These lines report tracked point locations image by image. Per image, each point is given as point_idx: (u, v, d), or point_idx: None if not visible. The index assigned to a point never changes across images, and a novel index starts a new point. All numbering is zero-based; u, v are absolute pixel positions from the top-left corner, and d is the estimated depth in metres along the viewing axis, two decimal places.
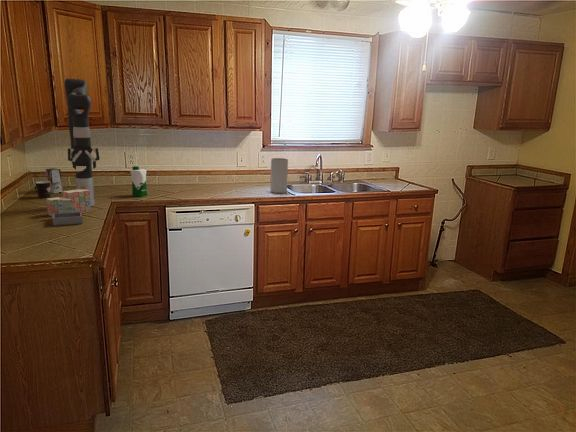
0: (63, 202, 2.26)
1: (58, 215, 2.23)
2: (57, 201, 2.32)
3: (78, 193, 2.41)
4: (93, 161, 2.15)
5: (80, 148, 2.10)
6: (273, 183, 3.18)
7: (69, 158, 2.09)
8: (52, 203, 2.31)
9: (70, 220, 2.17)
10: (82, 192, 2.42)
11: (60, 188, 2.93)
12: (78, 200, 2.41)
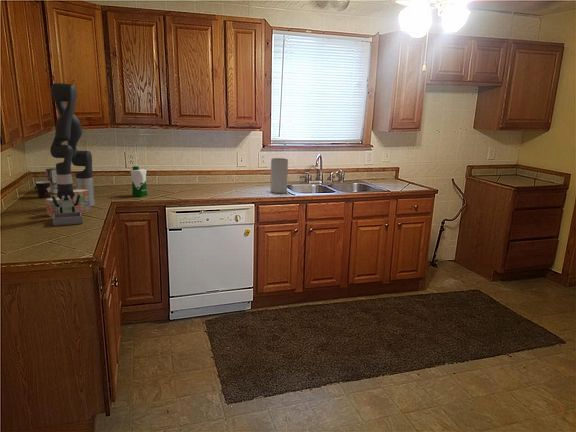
0: (63, 202, 2.26)
1: (58, 215, 2.23)
2: None
3: (77, 193, 2.40)
4: (72, 206, 2.30)
5: (63, 193, 2.26)
6: (273, 183, 3.18)
7: (56, 204, 2.26)
8: (52, 203, 2.30)
9: (70, 220, 2.17)
10: (81, 192, 2.42)
11: None
12: None
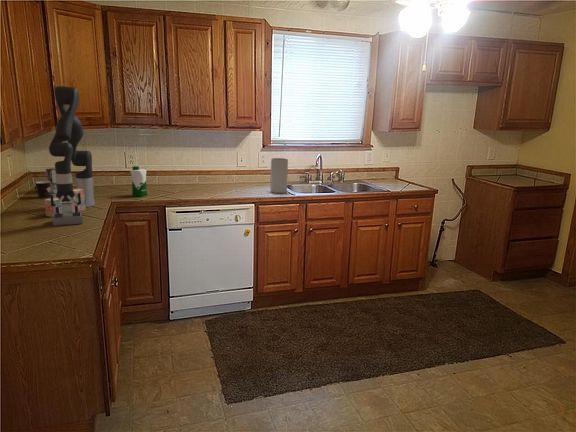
0: (63, 205, 2.17)
1: (58, 215, 2.23)
2: None
3: (75, 192, 2.42)
4: (75, 205, 2.21)
5: (62, 193, 2.17)
6: (273, 183, 3.18)
7: (52, 204, 2.16)
8: None
9: (70, 220, 2.17)
10: (78, 191, 2.44)
11: None
12: (75, 200, 2.43)
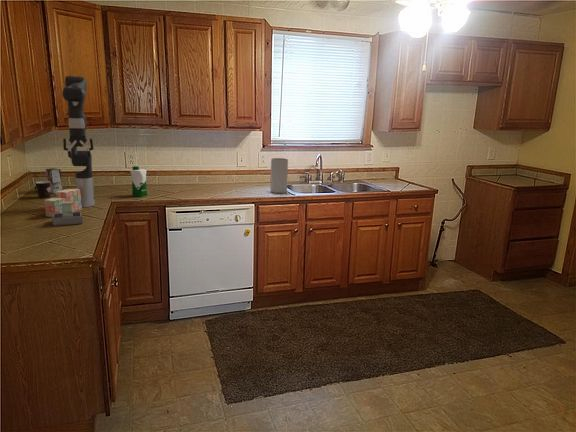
0: (63, 205, 2.17)
1: (58, 215, 2.23)
2: (58, 201, 2.32)
3: (72, 192, 2.42)
4: None
5: (75, 138, 2.23)
6: (273, 183, 3.18)
7: (65, 147, 2.22)
8: (55, 204, 2.30)
9: (70, 220, 2.17)
10: (75, 191, 2.44)
11: (60, 188, 2.93)
12: (73, 199, 2.43)
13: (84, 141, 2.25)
